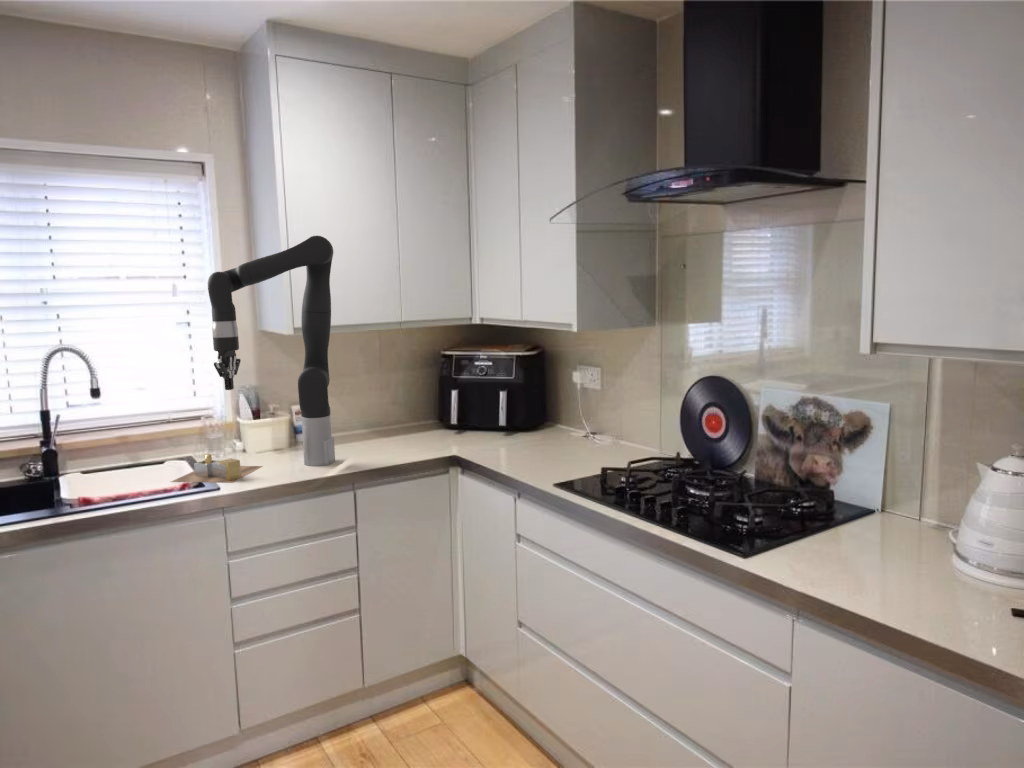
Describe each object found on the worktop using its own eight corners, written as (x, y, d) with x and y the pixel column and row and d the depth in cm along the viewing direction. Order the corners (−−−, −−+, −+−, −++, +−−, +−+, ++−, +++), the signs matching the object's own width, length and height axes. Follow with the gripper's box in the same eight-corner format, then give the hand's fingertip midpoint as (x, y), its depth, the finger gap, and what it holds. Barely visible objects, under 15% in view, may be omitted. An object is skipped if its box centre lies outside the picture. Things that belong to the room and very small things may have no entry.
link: (240, 474, 226) (239, 462, 225) (228, 479, 221) (227, 466, 221) (207, 471, 231) (206, 459, 230) (195, 475, 226) (194, 463, 226)
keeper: (220, 478, 222) (219, 461, 221) (232, 475, 225) (230, 458, 224) (229, 480, 219) (228, 462, 218) (241, 477, 222) (239, 460, 222)
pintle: (214, 472, 229) (212, 454, 229) (210, 474, 227) (209, 455, 227) (208, 472, 230) (206, 454, 229) (204, 474, 228) (203, 455, 227)
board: (263, 469, 237) (263, 466, 237) (232, 486, 217) (232, 482, 217) (206, 469, 239) (205, 465, 239) (170, 485, 220) (170, 481, 220)
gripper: (225, 336, 222) (230, 392, 224) (246, 333, 235) (250, 386, 237) (203, 337, 223) (207, 392, 225) (225, 334, 236) (228, 386, 238)
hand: (229, 389), depth 231 cm, fingers closed
